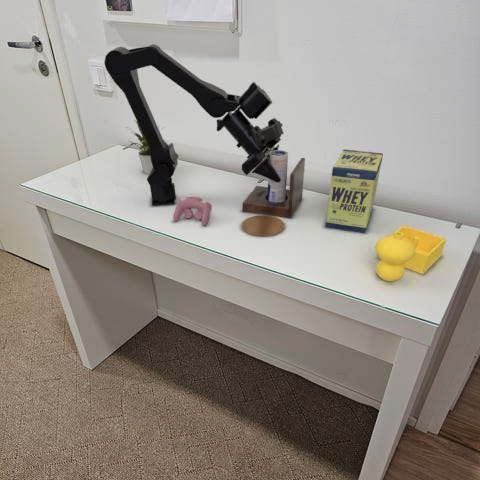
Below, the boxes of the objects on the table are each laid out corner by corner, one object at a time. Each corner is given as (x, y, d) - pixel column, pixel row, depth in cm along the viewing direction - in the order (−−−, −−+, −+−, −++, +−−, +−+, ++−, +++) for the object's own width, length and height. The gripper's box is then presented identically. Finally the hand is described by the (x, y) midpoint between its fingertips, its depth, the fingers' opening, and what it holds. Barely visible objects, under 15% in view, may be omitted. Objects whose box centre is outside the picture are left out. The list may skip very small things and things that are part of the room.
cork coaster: (245, 238, 110) (245, 236, 110) (239, 218, 118) (239, 216, 118) (288, 234, 111) (288, 232, 111) (279, 215, 119) (279, 213, 119)
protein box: (324, 227, 114) (331, 168, 104) (335, 203, 125) (343, 148, 115) (365, 233, 111) (376, 173, 101) (373, 208, 122) (383, 152, 112)
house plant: (119, 170, 148) (109, 119, 138) (153, 160, 156) (146, 111, 145) (142, 181, 140) (134, 128, 130) (177, 170, 147) (171, 119, 137)
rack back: (287, 217, 118) (290, 174, 111) (298, 198, 128) (301, 157, 120) (291, 218, 118) (294, 174, 111) (301, 199, 128) (305, 157, 120)
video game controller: (211, 226, 119) (214, 199, 117) (205, 226, 114) (208, 198, 113) (178, 221, 121) (181, 195, 120) (171, 221, 117) (173, 194, 115)
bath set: (399, 242, 107) (409, 200, 100) (440, 256, 102) (454, 213, 95) (357, 276, 95) (365, 232, 89) (402, 294, 90) (414, 248, 83)
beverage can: (285, 202, 126) (288, 149, 117) (285, 209, 122) (287, 155, 113) (267, 201, 127) (269, 149, 117) (266, 209, 123) (268, 155, 113)
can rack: (242, 211, 122) (242, 203, 120) (256, 193, 131) (256, 185, 130) (291, 218, 118) (292, 209, 117) (302, 199, 128) (302, 191, 126)
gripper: (253, 120, 103) (296, 171, 107) (274, 101, 117) (311, 147, 121) (223, 151, 110) (264, 198, 114) (247, 130, 124) (282, 173, 128)
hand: (282, 177), depth 119 cm, fingers closed on beverage can, 5 cm apart
